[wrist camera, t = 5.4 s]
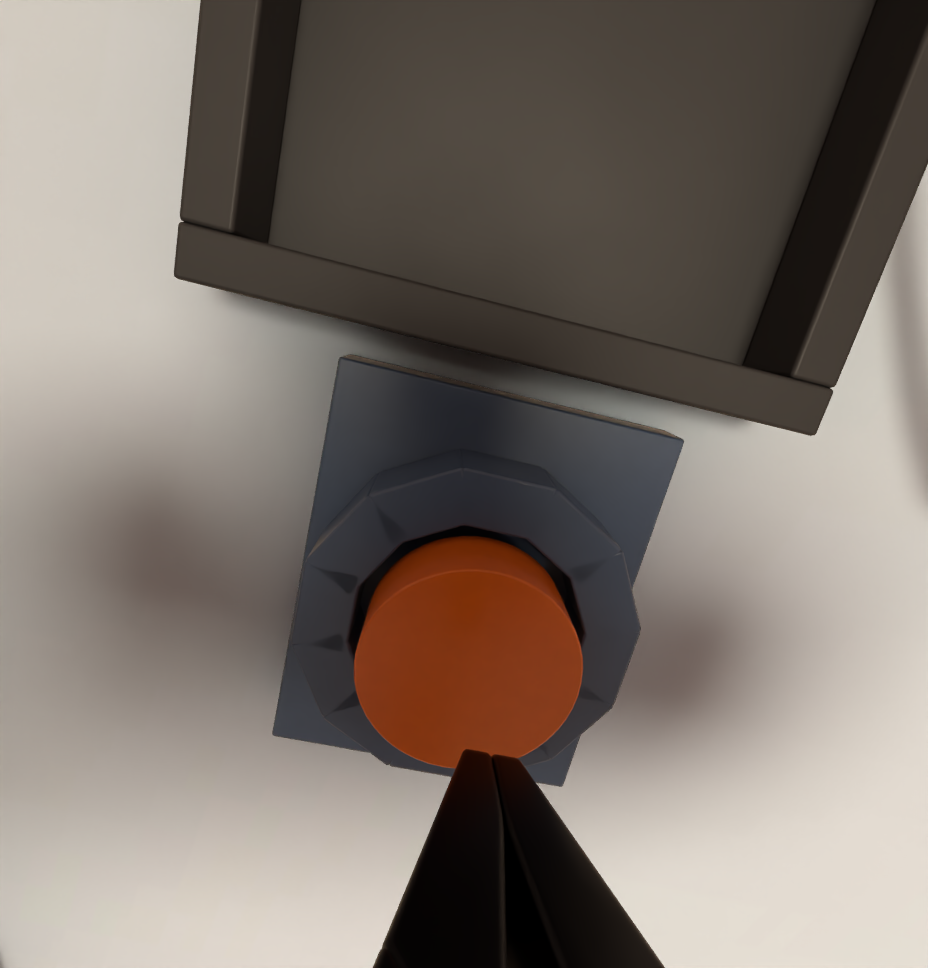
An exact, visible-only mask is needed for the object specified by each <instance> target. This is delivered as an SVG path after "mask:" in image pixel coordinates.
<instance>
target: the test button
mask: <svg viewBox="0 0 928 968" xmlns="http://www.w3.org/2000/svg"><path fill="white" fill-rule="evenodd" d="M582 675H583V656H582V651H581V645H580V642H579V639H578V636H577V633H576V630H575V628H574V626H573V623H572V621H571V618H570V616H569V614H568V611H567V609H566V607H565V604H564V602H563V599H562V597H561V595H560V592H559V590H558V588H557V586H556V585H555V583H554V581H553V579H552V578H551V577H550V575H549V574H548V572H547V571H546V570H545V569H544V568H543V567H542V566H541V565H540V564H539V563H538V562H537V561H536V560H535V559H534V558H532V557H531V556H530V555H528V554H527V553H525V552H524V551H522V550H520V549H519V548H517V547H515V546H513V545H510V544H508V543H506V542H503V541H499V540H496V539H492V538H487V537H480V536H455V537H448V538H443V539H439V540H435V541H432V542H429V543H427V544H424V545H422V546H420V547H418V548H416V549H414V550H412V551H410V552H409V553H408V554H406V555H405V556H403V557H402V558H400V559H399V560H398V561H397V562H396V563H395V564H394V565H392V566H391V567H390V569H389V570H388V571H387V572H386V573H385V574H384V576H383V577H382V578H381V580H380V582H379V583H378V585H377V586H376V588H375V590H374V593H373V595H372V597H371V600H370V603H369V607H368V610H367V613H366V617H365V620H364V624H363V627H362V631H361V634H360V638H359V641H358V645H357V648H356V652H355V659H354V682H355V688H356V693H357V696H358V699H359V702H360V705H361V707H362V709H363V711H364V713H365V715H366V717H367V718H368V720H369V721H370V722H371V724H372V725H373V727H374V728H375V729H376V730H377V731H378V732H379V734H380V735H381V736H382V737H383V738H384V739H386V740H387V741H388V742H389V743H390V744H391V745H393V746H394V747H396V748H397V749H399V750H400V751H402V752H403V753H405V754H407V755H409V756H411V757H413V758H415V759H417V760H420V761H423V762H426V763H428V764H432V765H436V766H440V767H446V768H454V769H456V766H457V764H458V761H459V759H460V757H461V754H462V752H463V751H464V750H465V749H471V750H476V751H482V752H487V753H488V754H489V755H490V756H492V755H494V754H498V755H504V756H509V757H515V758H520V757H522V756H524V755H526V754H528V753H529V752H531V751H533V750H534V749H536V748H538V747H539V746H540V745H542V744H543V743H544V742H546V741H547V740H548V739H549V738H550V737H551V736H552V735H553V734H554V733H555V732H556V731H557V730H558V729H559V728H560V727H561V725H562V724H563V723H564V722H565V720H566V719H567V717H568V716H569V714H570V712H571V711H572V709H573V707H574V704H575V702H576V700H577V697H578V694H579V691H580V687H581V683H582Z"/></svg>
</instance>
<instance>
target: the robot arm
mask: <svg viewBox="0 0 928 968" xmlns="http://www.w3.org/2000/svg"><path fill="white" fill-rule="evenodd" d="M373 968H665V967H664V966H663V964H662V963H661V961H660V960H659V959H658V957H657V956H656V954H655V953H654V951H653V950H652V949H651V947H650V946H649V944H648V943H647V941H646V940H645V938H644V937H643V936H642V934H641V933H640V931H639V930H638V928H637V927H636V926H635V924H634V923H633V921H632V920H631V918H630V917H629V916H628V914H627V913H626V911H625V910H624V908H623V907H622V906H621V904H620V903H619V901H618V900H617V898H616V897H615V896H614V894H613V893H612V891H611V890H610V888H609V887H608V886H607V884H606V883H605V881H604V880H603V878H602V877H601V876H600V874H599V873H598V871H597V870H596V868H595V867H594V865H593V864H592V863H591V861H590V860H589V858H588V857H587V855H586V854H585V853H584V851H583V850H582V848H581V847H580V845H579V844H578V843H577V841H576V840H575V838H574V837H573V835H572V834H571V833H570V831H569V830H568V828H567V827H566V825H565V824H564V823H563V821H562V820H561V818H560V817H559V815H558V814H557V813H556V811H555V810H554V808H553V807H552V805H551V804H550V803H549V801H548V800H547V798H546V797H545V795H544V794H543V792H542V791H541V790H540V788H539V787H538V785H537V784H536V782H535V781H534V780H533V778H532V777H531V775H530V774H529V772H528V771H527V770H526V768H525V767H524V765H523V764H522V762H521V761H520V760H519V759H517V758H515V757H509V756H504V755H498V754H494V755H492V756H490V755H489V754H488V753H487V752H482V751H476V750H471V749H465V750H464V751H463V752H462V754H461V757H460V759H459V761H458V764H457V766H456V769H455V771H454V774H453V776H452V778H451V781H450V783H449V786H448V788H447V790H446V793H445V795H444V798H443V800H442V803H441V805H440V807H439V810H438V812H437V815H436V817H435V820H434V822H433V824H432V827H431V829H430V832H429V834H428V836H427V839H426V841H425V844H424V846H423V849H422V851H421V853H420V856H419V858H418V861H417V863H416V865H415V868H414V870H413V873H412V875H411V878H410V880H409V882H408V885H407V887H406V890H405V892H404V894H403V897H402V899H401V902H400V904H399V907H398V909H397V911H396V914H395V916H394V919H393V921H392V923H391V926H390V928H389V931H388V933H387V936H386V938H385V940H384V943H383V946H382V949H381V950H380V952H379V954H378V956H377V959H376V961H375V964H374V966H373Z"/></svg>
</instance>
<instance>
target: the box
mask: <svg viewBox="0 0 928 968" xmlns="http://www.w3.org/2000/svg"><path fill="white" fill-rule="evenodd" d="M683 443H684V440H683V439H681V438H679V437H677V436H675V435H673V434H671V433H668V432H666V431H664V430H660V429H656V428H652V427H647V426H643V425H639V424H635V423H631V422H627V421H623V420H619V419H614V418H610V417H606V416H602V415H598V414H594V413H590V412H586V411H581V410H577V409H573V408H569V407H565V406H561V405H557V404H553V403H548V402H544V401H540V400H536V399H532V398H528V397H524V396H520V395H515V394H511V393H507V392H503V391H499V390H495V389H491V388H487V387H483V386H478V385H474V384H470V383H466V382H462V381H458V380H454V379H450V378H445V377H441V376H437V375H433V374H429V373H425V372H421V371H417V370H412V369H408V368H404V367H400V366H396V365H392V364H388V363H384V362H379V361H375V360H371V359H367V358H363V357H359V356H355V355H346V356H343V357H340V358H339V361H338V367H337V372H336V378H335V383H334V389H333V395H332V400H331V406H330V412H329V417H328V423H327V428H326V434H325V440H324V445H323V451H322V457H321V462H320V468H319V473H318V479H317V485H316V490H315V496H314V502H313V507H312V513H311V518H310V524H309V530H308V535H307V541H306V547H305V552H304V558H303V563H302V569H301V575H300V580H299V586H298V592H297V597H296V603H295V608H294V614H293V620H292V625H291V631H290V637H289V642H288V648H287V654H286V659H285V665H284V670H283V676H282V682H281V687H280V693H279V699H278V704H277V710H276V715H275V721H274V727H273V732H272V733H273V735H274V736H278V737H284V738H290V739H295V740H301V741H306V742H312V743H318V744H323V745H329V746H335V747H340V748H346V749H351V750H357V751H363V752H368V753H371V754H372V755H374V756H375V757H377V758H378V759H379V760H381V761H382V762H383V763H385V764H386V765H389V764H390V766H392V767H398V768H404V769H409V770H415V771H421V772H426V773H432V774H438V775H443V776H449V777H452V776H453V774H454V771H455V769H454V768H446V767H440V766H436V765H432V764H428V763H426V762H423V761H420V760H417V759H415V758H413V757H411V756H409V755H407V754H405V753H403V752H402V751H400V750H399V749H397V748H396V747H394V746H393V745H391V744H390V743H389V742H388V741H387V740H386V739H384V738H383V737H382V736H381V735H380V734H379V732H378V731H377V730H376V729H375V728H374V727H373V725H372V724H371V722H370V721H369V720H368V718H367V717H366V715H365V713H364V711H363V709H362V707H361V705H360V702H359V699H358V696H357V693H356V688H355V682H354V659H355V652H356V648H357V645H358V641H359V638H360V634H361V631H362V627H363V624H364V620H365V617H366V613H367V610H368V607H369V603H370V600H371V597H372V595H373V593H374V590H375V588H376V586H377V585H378V583H379V582H380V580H381V578H382V577H383V576H384V574H385V573H386V572H387V571H388V570H389V569H390V567H391V566H392V565H394V564H395V563H396V562H397V561H398V560H399V559H400V558H402V557H403V556H405V555H406V554H408V553H409V552H410V551H412V550H414V549H416V548H418V547H420V546H422V545H424V544H427V543H429V542H432V541H435V540H439V539H443V538H448V537H455V536H480V537H487V538H492V539H496V540H499V541H503V542H506V543H508V544H510V545H513V546H515V547H517V548H519V549H520V550H522V551H524V552H525V553H527V554H528V555H530V556H531V557H532V558H534V559H535V560H536V561H537V562H538V563H539V564H540V565H541V566H542V567H543V568H544V569H545V570H546V571H547V572H548V574H549V575H550V577H551V578H552V579H553V581H554V583H555V585H556V586H557V588H558V590H559V592H560V595H561V597H562V599H563V602H564V604H565V607H566V609H567V611H568V614H569V616H570V618H571V621H572V623H573V626H574V628H575V630H576V633H577V636H578V639H579V642H580V645H581V651H582V656H583V675H582V683H581V687H580V691H579V694H578V697H577V700H576V702H575V704H574V707H573V709H572V711H571V712H570V714H569V716H568V717H567V719H566V720H565V722H564V723H563V724H562V725H561V727H560V728H559V729H558V730H557V731H556V732H555V733H554V734H553V735H552V736H551V737H550V738H549V739H548V740H547V741H546V742H544V743H543V744H542V745H540V746H539V747H538V748H536V749H534V750H533V751H531V752H529V753H528V754H526V755H524V756H522V757H520V758H517V759H519V760H520V761H521V762H522V764H523V765H524V767H525V768H526V770H527V771H528V772H529V774H530V775H531V777H532V778H533V780H534V781H535V782H537V783H542V784H548V785H554V786H559V787H562V786H563V784H564V781H565V778H566V775H567V772H568V769H569V767H570V764H571V761H572V758H573V755H574V752H575V750H576V747H577V744H578V741H579V738H580V735H581V734H582V733H583V732H585V731H586V730H587V729H588V728H589V727H590V726H592V725H593V724H594V723H595V722H596V721H597V720H599V719H600V718H601V717H602V716H603V715H604V714H606V713H607V712H608V711H609V710H610V709H611V708H612V707H613V705H614V703H615V700H616V698H617V695H618V692H619V689H620V687H621V684H622V681H623V678H624V676H625V673H626V670H627V667H628V665H629V662H630V659H631V657H632V654H633V651H634V648H635V646H636V643H637V640H638V637H639V635H640V629H641V627H640V623H639V619H638V614H637V610H636V606H635V601H634V597H633V593H632V588H633V585H634V582H635V580H636V577H637V574H638V571H639V568H640V565H641V563H642V560H643V557H644V554H645V551H646V548H647V546H648V543H649V540H650V537H651V534H652V531H653V529H654V526H655V523H656V520H657V517H658V514H659V512H660V509H661V506H662V503H663V500H664V497H665V495H666V492H667V489H668V486H669V483H670V480H671V478H672V475H673V472H674V469H675V466H676V463H677V460H678V458H679V455H680V452H681V449H682V446H683Z"/></svg>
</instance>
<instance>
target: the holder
mask: <svg viewBox="0 0 928 968" xmlns="http://www.w3.org/2000/svg"><path fill="white" fill-rule="evenodd" d="M927 164H928V0H201V3H200V13H199V23H198V33H197V44H196V54H195V64H194V75H193V85H192V95H191V106H190V116H189V126H188V137H187V147H186V157H185V168H184V178H183V188H182V199H181V209H180V218H181V220H182V221H184V222H180V223H179V226H178V237H177V247H176V257H175V268H174V276H175V277H176V278H178V279H181V280H185V281H189V282H193V283H197V284H201V285H205V286H209V287H213V288H217V289H221V290H225V291H229V292H233V293H237V294H241V295H245V296H249V297H253V298H257V299H261V300H265V301H269V302H273V303H277V304H281V305H286V306H290V307H294V308H298V309H302V310H306V311H310V312H314V313H318V314H322V315H326V316H330V317H334V318H338V319H342V320H346V321H350V322H354V323H358V324H362V325H366V326H370V327H374V328H378V329H382V330H386V331H390V332H394V333H398V334H402V335H407V336H411V337H415V338H419V339H423V340H427V341H431V342H435V343H439V344H443V345H447V346H451V347H455V348H459V349H463V350H467V351H471V352H475V353H479V354H483V355H487V356H491V357H495V358H499V359H503V360H507V361H511V362H515V363H519V364H523V365H528V366H532V367H536V368H540V369H544V370H548V371H552V372H556V373H560V374H564V375H568V376H572V377H576V378H580V379H584V380H588V381H592V382H596V383H600V384H604V385H608V386H612V387H616V388H620V389H624V390H628V391H632V392H636V393H640V394H644V395H649V396H653V397H657V398H661V399H665V400H669V401H673V402H677V403H681V404H685V405H689V406H693V407H697V408H701V409H705V410H709V411H713V412H717V413H721V414H725V415H729V416H733V417H737V418H741V419H745V420H749V421H753V422H757V423H761V424H766V425H770V426H774V427H778V428H782V429H786V430H790V431H794V432H798V433H802V434H806V435H810V436H811V435H815V434H816V432H817V430H818V428H819V425H820V423H821V420H822V418H823V416H824V413H825V411H826V408H827V406H828V404H829V401H830V399H831V396H832V394H833V390H832V389H830V388H831V387H834V386H835V385H836V383H837V381H838V379H839V376H840V374H841V371H842V369H843V367H844V364H845V362H846V359H847V357H848V355H849V352H850V350H851V347H852V345H853V342H854V340H855V338H856V335H857V333H858V330H859V328H860V326H861V323H862V321H863V318H864V316H865V314H866V311H867V309H868V306H869V304H870V302H871V299H872V297H873V294H874V292H875V289H876V287H877V285H878V282H879V280H880V277H881V275H882V273H883V270H884V268H885V265H886V263H887V261H888V258H889V256H890V253H891V251H892V249H893V246H894V244H895V241H896V239H897V236H898V234H899V232H900V229H901V227H902V224H903V222H904V220H905V217H906V215H907V212H908V210H909V208H910V205H911V203H912V200H913V198H914V196H915V193H916V191H917V188H918V186H919V183H920V181H921V179H922V176H923V174H924V171H925V169H926V167H927Z"/></svg>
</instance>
